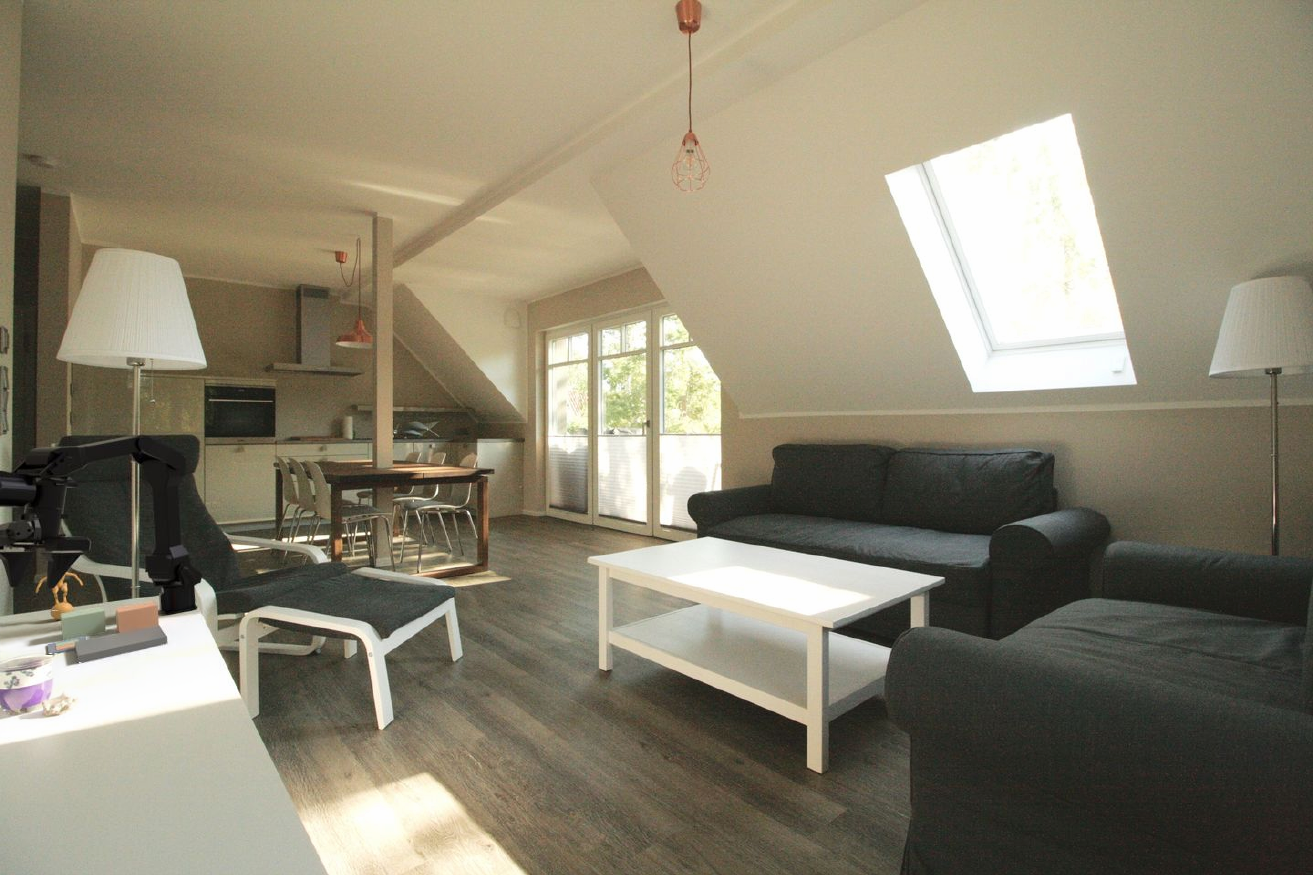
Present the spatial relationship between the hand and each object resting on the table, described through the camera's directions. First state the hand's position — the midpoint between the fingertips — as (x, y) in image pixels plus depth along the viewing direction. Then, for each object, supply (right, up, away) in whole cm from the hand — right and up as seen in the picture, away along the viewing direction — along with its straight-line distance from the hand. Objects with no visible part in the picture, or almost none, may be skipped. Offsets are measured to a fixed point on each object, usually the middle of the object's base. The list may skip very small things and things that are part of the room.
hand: (32, 587), depth 126 cm
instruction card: (-1, -14, +8) cm, 17 cm away
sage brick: (-4, -14, +16) cm, 22 cm away
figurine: (-20, -14, +28) cm, 37 cm away
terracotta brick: (+5, -14, +20) cm, 25 cm away
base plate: (+11, -14, +8) cm, 20 cm away
